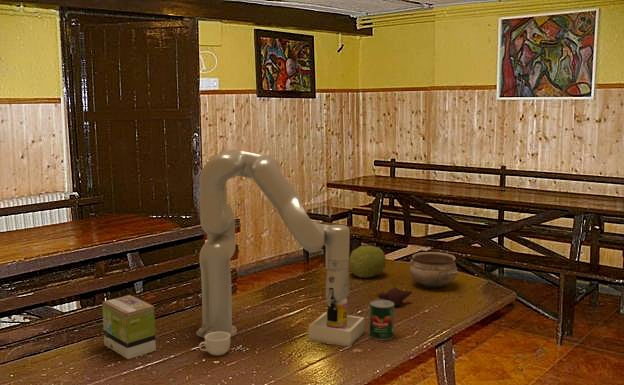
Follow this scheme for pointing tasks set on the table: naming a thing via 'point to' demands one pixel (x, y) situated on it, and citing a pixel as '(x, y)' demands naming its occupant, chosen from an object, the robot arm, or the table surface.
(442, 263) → the cooking pot
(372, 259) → the fruit
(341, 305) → the supplement bottle
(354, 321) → the tub
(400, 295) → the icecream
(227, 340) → the teacup
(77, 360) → the table surface
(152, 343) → the tea box
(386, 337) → the canned tomato
